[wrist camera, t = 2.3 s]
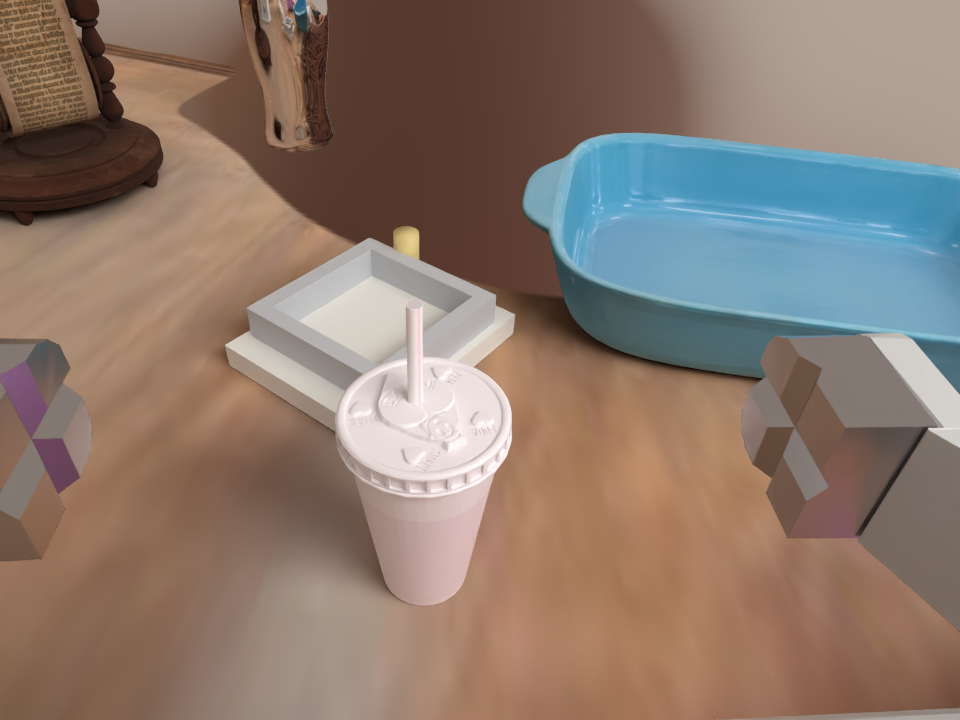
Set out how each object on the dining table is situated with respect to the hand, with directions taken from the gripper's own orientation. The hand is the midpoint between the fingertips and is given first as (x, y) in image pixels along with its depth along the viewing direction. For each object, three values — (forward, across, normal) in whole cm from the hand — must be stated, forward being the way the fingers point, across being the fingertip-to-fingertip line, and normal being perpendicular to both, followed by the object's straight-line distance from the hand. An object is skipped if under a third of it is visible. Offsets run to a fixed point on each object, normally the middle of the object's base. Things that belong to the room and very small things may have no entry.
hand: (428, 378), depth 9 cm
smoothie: (+12, 0, +22) cm, 25 cm away
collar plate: (+28, +3, +22) cm, 35 cm away
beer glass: (+58, +11, +22) cm, 63 cm away
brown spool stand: (+49, +28, +22) cm, 60 cm away
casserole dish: (+32, -25, +22) cm, 46 cm away
